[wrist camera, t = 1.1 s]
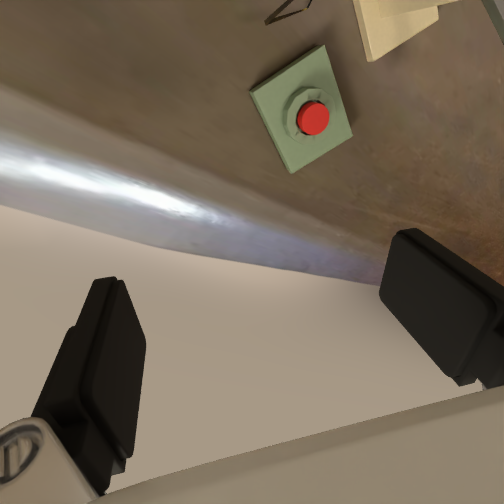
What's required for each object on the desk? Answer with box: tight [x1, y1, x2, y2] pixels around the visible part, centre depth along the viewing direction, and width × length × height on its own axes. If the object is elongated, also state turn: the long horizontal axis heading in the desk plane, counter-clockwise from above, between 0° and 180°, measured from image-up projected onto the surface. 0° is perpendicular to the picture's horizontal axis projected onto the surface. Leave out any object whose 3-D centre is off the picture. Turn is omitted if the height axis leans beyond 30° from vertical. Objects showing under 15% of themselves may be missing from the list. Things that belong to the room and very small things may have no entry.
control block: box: [249, 45, 353, 174], centre depth 38 cm, size 12×10×4 cm
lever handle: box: [482, 0, 504, 45], centre depth 25 cm, size 14×3×3 cm
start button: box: [297, 102, 329, 135], centre depth 36 cm, size 4×4×2 cm
